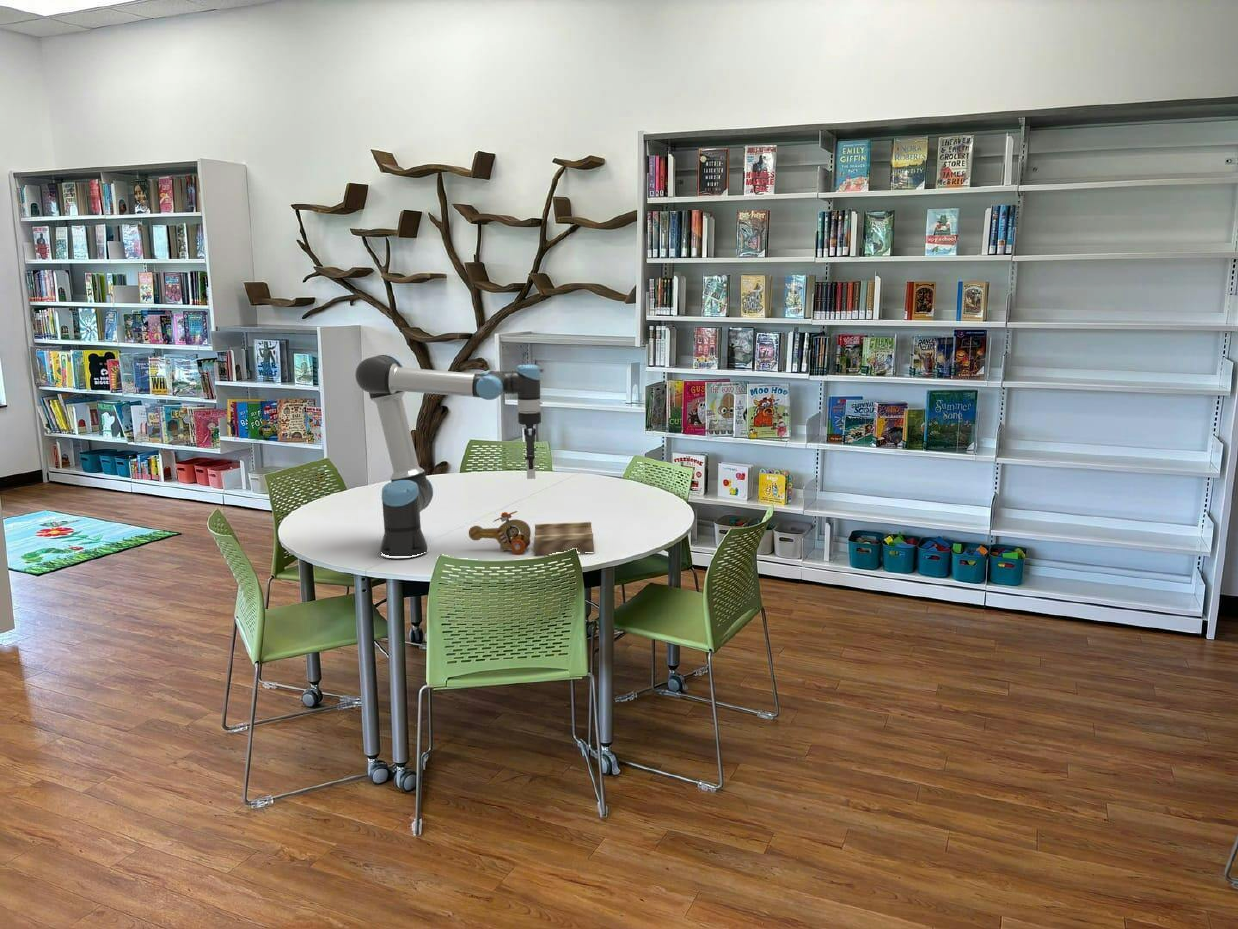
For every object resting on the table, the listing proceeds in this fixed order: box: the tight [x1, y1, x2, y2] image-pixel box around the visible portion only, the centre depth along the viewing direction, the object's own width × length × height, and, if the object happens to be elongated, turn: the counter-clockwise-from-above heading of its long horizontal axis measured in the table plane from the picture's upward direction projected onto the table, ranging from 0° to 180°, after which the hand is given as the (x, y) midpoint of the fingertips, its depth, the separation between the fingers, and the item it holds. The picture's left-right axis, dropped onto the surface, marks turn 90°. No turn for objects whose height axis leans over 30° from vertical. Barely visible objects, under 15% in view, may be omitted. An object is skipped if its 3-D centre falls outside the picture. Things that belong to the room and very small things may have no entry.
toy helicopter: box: [468, 510, 532, 555], centre depth 308 cm, size 8×21×14 cm, turn 81°
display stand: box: [533, 521, 595, 557], centre depth 310 cm, size 19×16×6 cm
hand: (531, 474), depth 315 cm, fingers open, 13 cm apart
